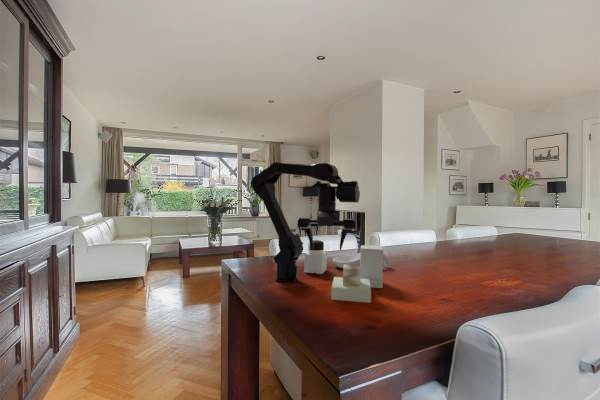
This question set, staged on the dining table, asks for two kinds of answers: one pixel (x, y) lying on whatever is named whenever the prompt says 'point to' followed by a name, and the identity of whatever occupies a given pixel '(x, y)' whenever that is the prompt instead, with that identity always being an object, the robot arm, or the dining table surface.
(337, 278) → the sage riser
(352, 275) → the cream block
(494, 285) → the dining table surface
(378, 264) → the supplement box
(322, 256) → the medicine bottle
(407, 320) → the dining table surface
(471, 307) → the dining table surface
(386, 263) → the spoon rest
